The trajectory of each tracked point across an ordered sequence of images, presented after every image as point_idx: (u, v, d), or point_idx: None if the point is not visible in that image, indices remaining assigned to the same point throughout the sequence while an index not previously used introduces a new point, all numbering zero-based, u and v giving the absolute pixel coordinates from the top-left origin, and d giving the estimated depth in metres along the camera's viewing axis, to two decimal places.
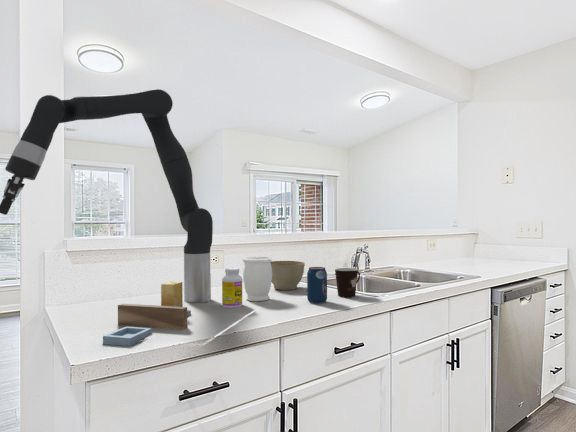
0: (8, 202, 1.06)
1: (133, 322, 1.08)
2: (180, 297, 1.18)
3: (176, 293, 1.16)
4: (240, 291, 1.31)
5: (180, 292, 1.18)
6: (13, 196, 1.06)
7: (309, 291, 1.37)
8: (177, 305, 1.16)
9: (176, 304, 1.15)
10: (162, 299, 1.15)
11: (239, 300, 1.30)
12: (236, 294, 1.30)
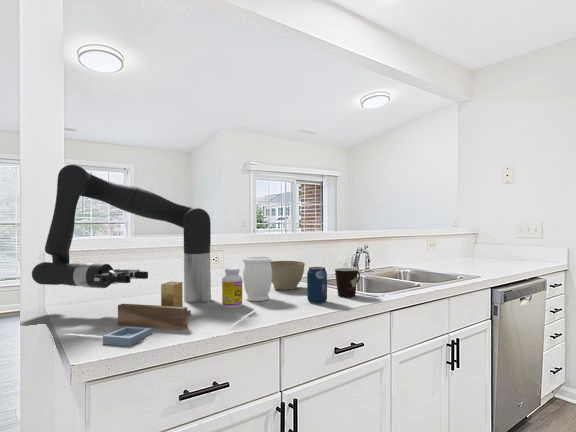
0: (118, 278, 1.16)
1: (133, 322, 1.08)
2: (180, 297, 1.18)
3: (176, 293, 1.16)
4: (240, 291, 1.31)
5: (180, 292, 1.18)
6: (108, 277, 1.14)
7: (309, 291, 1.37)
8: (177, 305, 1.16)
9: (176, 304, 1.15)
10: (162, 299, 1.15)
11: (239, 300, 1.30)
12: (236, 294, 1.30)
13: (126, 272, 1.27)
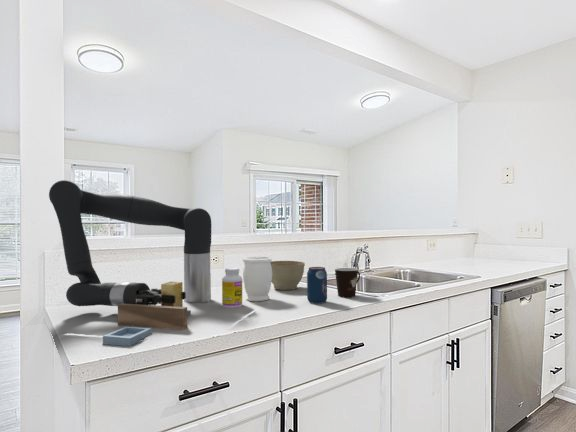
0: (163, 298, 1.13)
1: (133, 322, 1.08)
2: (180, 297, 1.18)
3: (176, 293, 1.16)
4: (240, 291, 1.31)
5: (180, 292, 1.18)
6: (153, 297, 1.12)
7: (309, 291, 1.37)
8: (177, 305, 1.16)
9: (176, 304, 1.15)
10: None
11: (239, 300, 1.30)
12: (236, 294, 1.30)
13: None
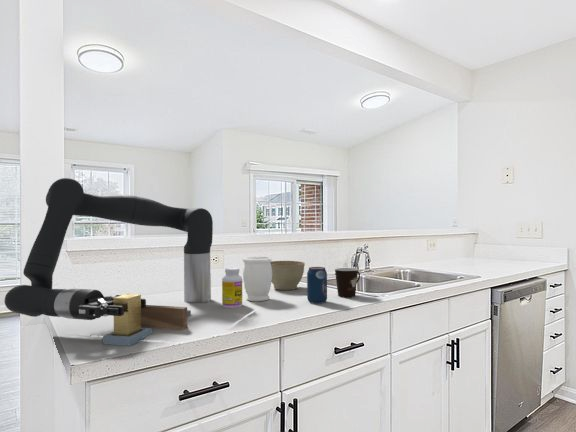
0: (108, 309, 0.93)
1: None
2: (137, 312, 0.98)
3: (132, 309, 0.96)
4: (240, 291, 1.31)
5: (138, 307, 0.98)
6: (96, 308, 0.92)
7: (309, 291, 1.37)
8: (133, 323, 0.97)
9: (131, 322, 0.96)
10: (115, 316, 0.96)
11: (239, 300, 1.30)
12: (236, 294, 1.30)
13: None
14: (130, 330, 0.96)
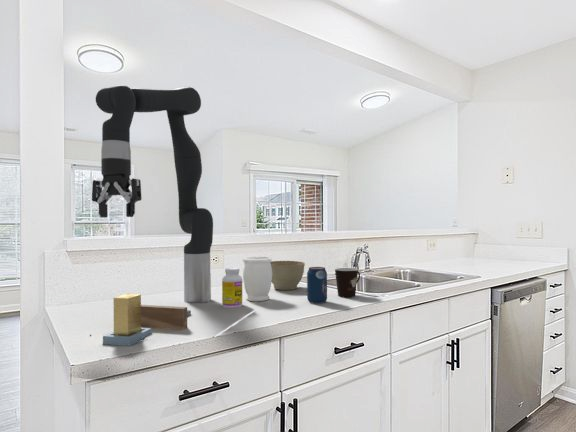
0: (133, 205, 1.09)
1: None
2: (137, 312, 0.98)
3: (132, 309, 0.96)
4: (240, 291, 1.31)
5: (138, 307, 0.98)
6: (140, 198, 1.09)
7: (309, 291, 1.37)
8: (133, 323, 0.97)
9: (131, 322, 0.96)
10: (115, 316, 0.96)
11: (239, 300, 1.30)
12: (236, 294, 1.30)
13: None
14: (130, 330, 0.96)
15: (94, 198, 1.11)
